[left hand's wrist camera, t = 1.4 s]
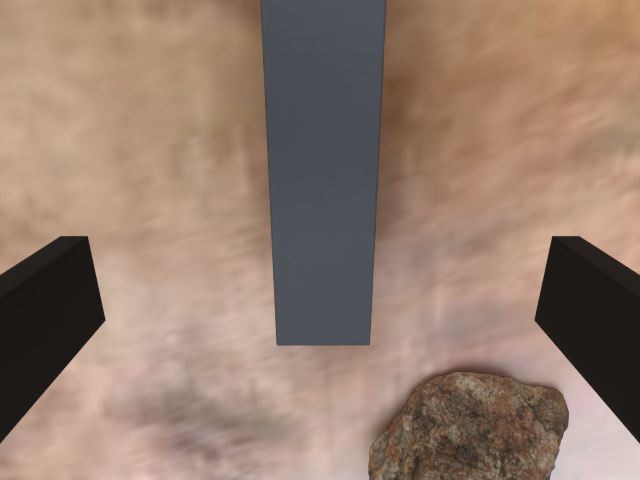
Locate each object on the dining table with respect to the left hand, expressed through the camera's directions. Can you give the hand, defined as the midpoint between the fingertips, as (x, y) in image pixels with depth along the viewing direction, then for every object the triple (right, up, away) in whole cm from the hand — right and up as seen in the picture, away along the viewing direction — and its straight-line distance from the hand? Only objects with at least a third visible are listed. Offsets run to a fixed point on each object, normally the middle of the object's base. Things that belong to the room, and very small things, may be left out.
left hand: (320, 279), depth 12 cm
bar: (0, +37, 0) cm, 37 cm away
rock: (+11, -12, +20) cm, 26 cm away
